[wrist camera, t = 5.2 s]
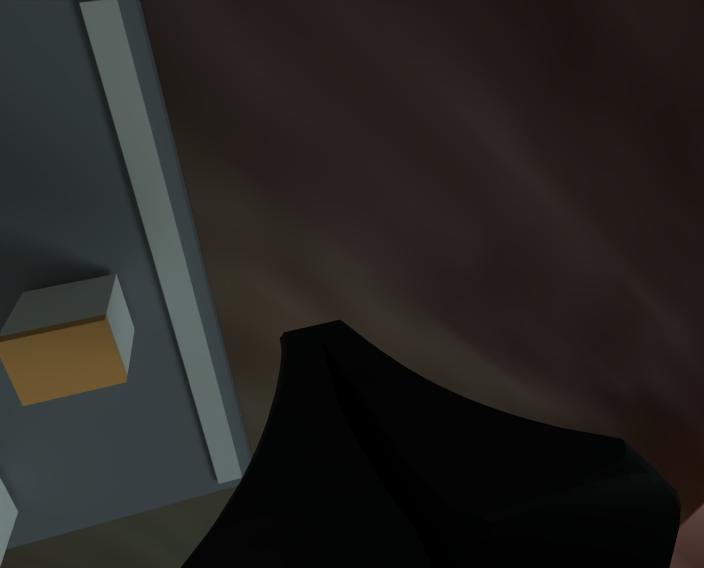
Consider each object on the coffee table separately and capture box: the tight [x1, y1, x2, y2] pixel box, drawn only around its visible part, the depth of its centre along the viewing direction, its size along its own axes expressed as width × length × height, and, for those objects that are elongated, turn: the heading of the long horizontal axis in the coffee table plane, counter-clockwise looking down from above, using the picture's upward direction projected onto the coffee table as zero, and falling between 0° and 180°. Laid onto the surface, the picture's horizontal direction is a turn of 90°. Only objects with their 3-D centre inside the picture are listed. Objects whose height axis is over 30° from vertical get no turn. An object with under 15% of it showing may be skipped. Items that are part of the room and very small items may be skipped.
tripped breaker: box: [0, 274, 135, 406], centre depth 15 cm, size 2×2×3 cm
